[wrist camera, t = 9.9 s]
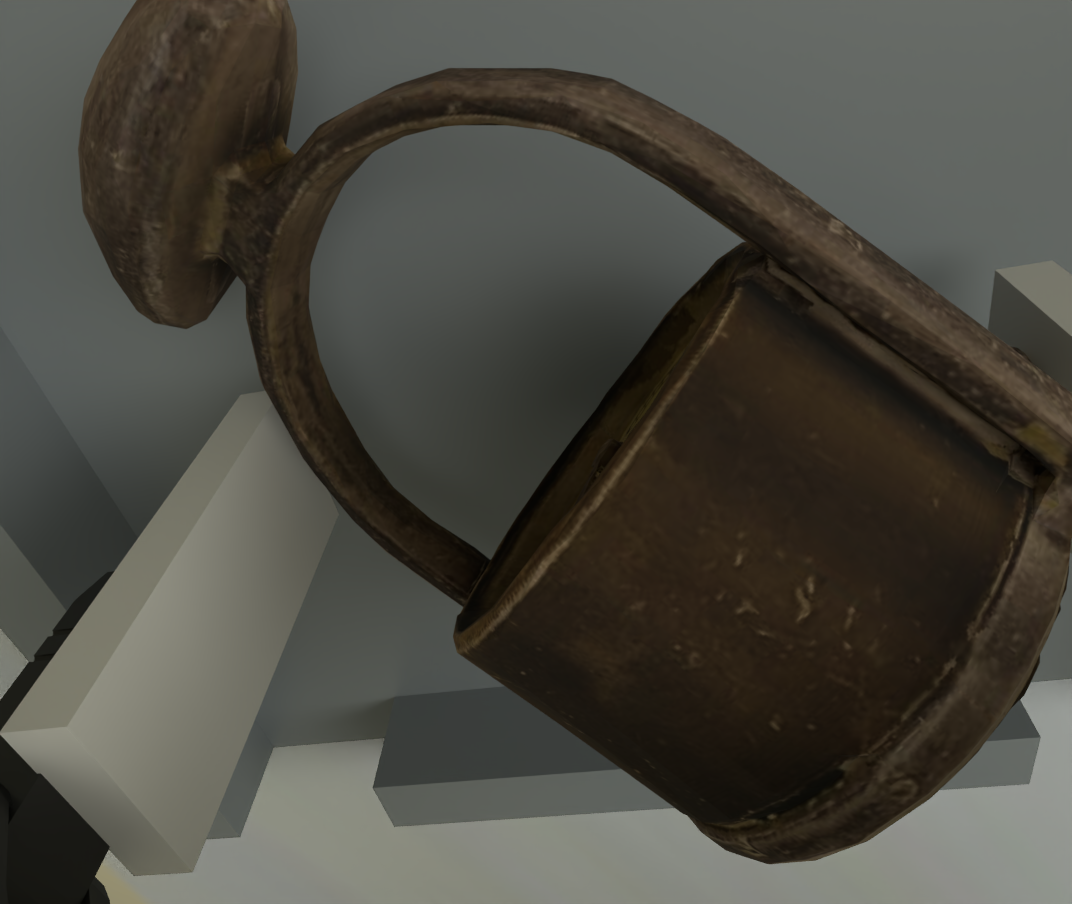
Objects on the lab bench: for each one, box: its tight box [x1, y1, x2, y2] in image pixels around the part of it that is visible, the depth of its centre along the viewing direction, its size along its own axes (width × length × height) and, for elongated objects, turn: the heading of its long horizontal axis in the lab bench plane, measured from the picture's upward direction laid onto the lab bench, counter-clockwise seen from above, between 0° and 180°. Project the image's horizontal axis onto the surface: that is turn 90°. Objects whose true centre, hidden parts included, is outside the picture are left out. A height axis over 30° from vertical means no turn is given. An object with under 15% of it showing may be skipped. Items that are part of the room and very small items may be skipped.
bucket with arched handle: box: [78, 0, 1072, 864], centre depth 9 cm, size 7×13×10 cm
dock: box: [0, 0, 1072, 839], centre depth 13 cm, size 20×25×3 cm
